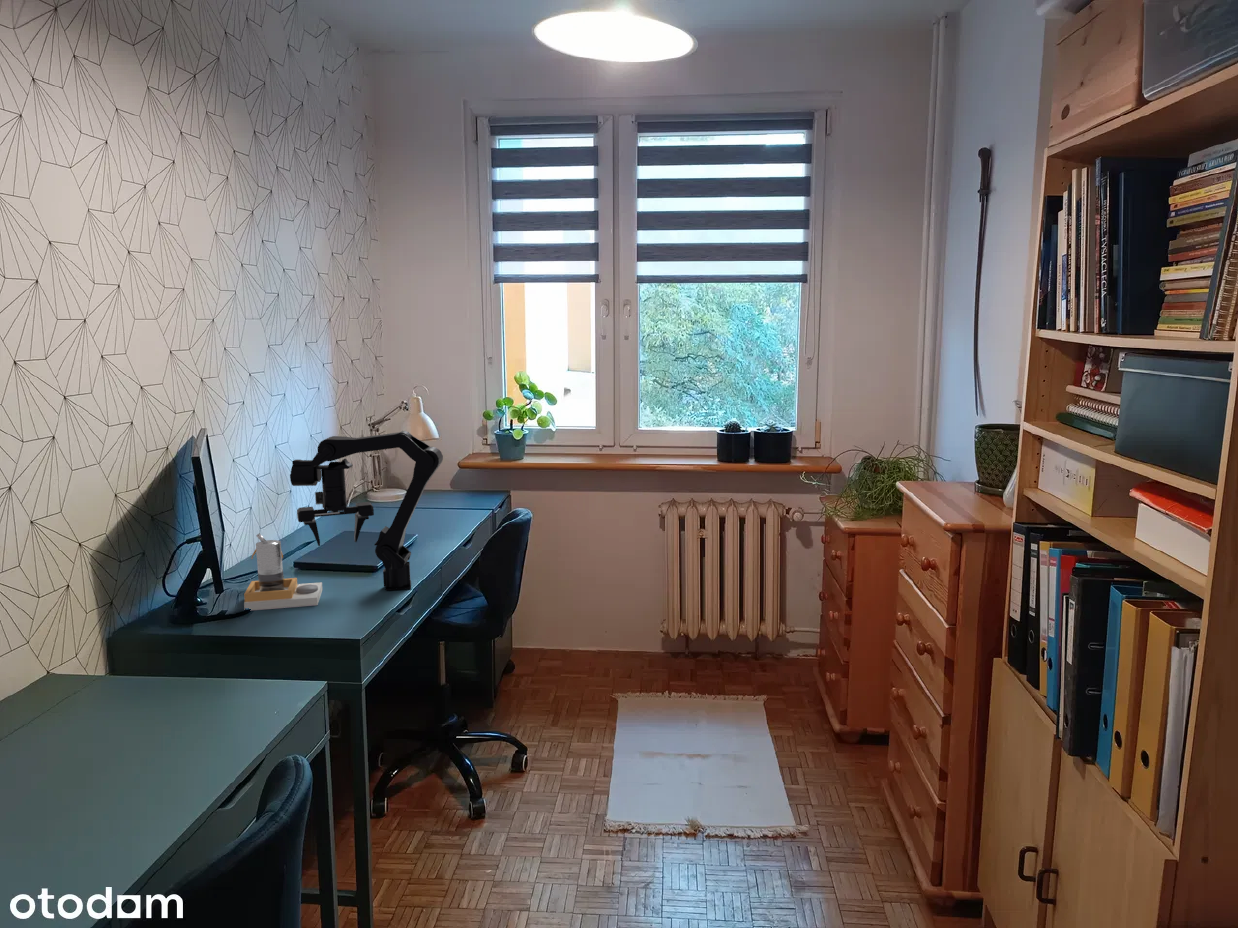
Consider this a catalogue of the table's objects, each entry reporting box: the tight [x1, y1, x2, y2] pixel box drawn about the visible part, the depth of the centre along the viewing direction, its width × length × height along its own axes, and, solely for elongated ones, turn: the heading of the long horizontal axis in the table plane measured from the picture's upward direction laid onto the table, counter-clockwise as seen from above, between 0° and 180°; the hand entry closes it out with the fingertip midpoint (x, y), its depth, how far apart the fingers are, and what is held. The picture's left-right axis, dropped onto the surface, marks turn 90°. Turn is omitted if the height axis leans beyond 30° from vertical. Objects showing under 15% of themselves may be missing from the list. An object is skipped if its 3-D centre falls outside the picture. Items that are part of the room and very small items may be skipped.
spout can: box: [255, 532, 285, 592], centre depth 223 cm, size 6×6×16 cm
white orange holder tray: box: [243, 577, 323, 611], centre depth 225 cm, size 17×13×4 cm
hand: (337, 543), depth 233 cm, fingers open, 9 cm apart
